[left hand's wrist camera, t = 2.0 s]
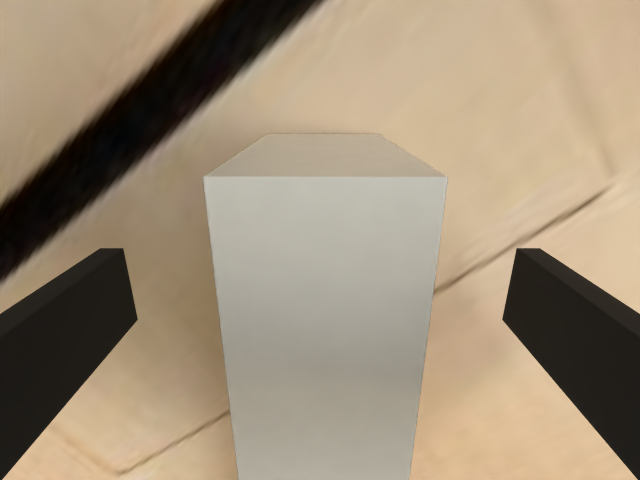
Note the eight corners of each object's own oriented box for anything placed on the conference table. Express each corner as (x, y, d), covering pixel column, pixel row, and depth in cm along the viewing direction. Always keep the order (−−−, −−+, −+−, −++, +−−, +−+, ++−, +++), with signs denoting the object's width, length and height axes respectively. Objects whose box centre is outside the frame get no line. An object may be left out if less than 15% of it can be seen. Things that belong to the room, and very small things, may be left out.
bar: (266, 133, 15) (201, 176, 7) (380, 133, 15) (449, 176, 7) (287, 531, 25) (269, 746, 17) (357, 531, 25) (374, 747, 17)
